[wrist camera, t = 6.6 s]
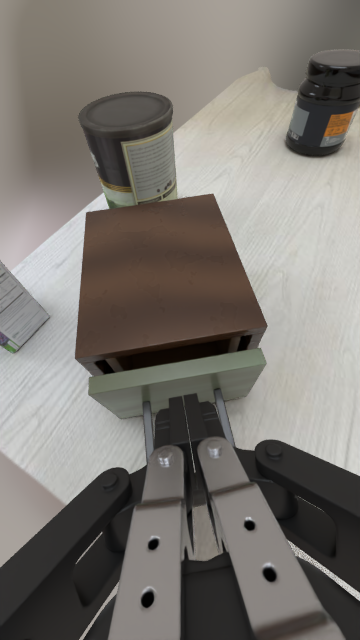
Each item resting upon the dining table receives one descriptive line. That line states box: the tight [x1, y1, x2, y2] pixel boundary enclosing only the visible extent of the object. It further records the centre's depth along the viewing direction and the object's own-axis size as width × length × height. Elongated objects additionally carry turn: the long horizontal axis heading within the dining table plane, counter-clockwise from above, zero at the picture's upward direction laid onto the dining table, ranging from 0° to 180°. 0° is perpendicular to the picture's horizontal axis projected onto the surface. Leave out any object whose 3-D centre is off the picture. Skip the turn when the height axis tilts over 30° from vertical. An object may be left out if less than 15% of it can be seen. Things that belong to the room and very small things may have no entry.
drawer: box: [88, 336, 266, 507], centre depth 21 cm, size 22×12×8 cm, turn 9°
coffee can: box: [78, 92, 178, 209], centre depth 33 cm, size 10×10×14 cm
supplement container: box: [286, 49, 360, 156], centre depth 43 cm, size 10×11×12 cm
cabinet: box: [75, 194, 267, 376], centre depth 25 cm, size 16×13×10 cm
